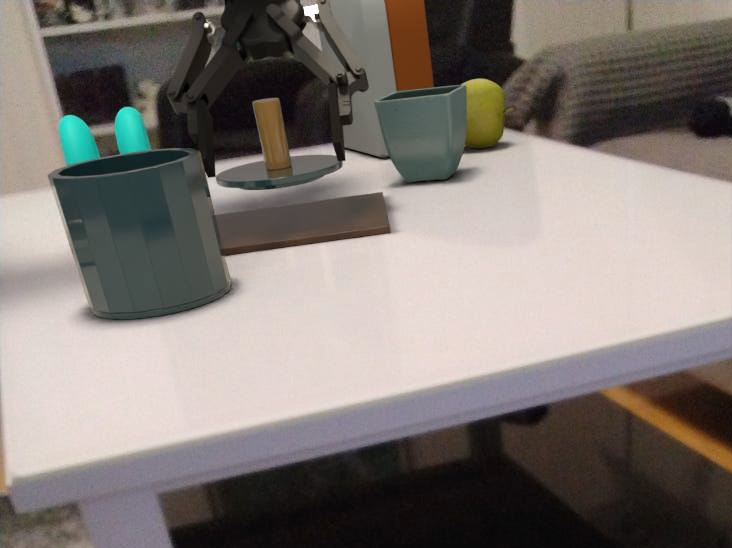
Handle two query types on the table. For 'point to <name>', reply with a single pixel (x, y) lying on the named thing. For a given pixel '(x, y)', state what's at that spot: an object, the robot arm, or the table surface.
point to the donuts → (82, 143)
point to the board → (303, 223)
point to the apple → (484, 113)
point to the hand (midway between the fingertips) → (273, 160)
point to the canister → (142, 232)
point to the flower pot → (424, 130)
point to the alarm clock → (381, 59)
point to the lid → (276, 157)
